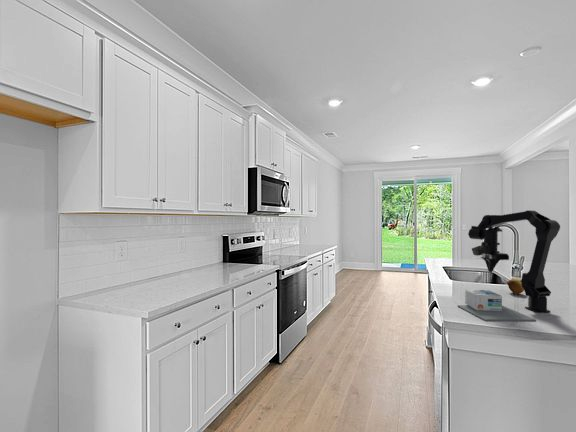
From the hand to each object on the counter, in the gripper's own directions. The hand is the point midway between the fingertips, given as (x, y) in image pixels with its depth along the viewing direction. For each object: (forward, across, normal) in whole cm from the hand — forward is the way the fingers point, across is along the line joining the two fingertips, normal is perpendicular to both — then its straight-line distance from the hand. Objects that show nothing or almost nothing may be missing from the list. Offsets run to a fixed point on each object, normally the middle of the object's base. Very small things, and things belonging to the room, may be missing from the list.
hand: (490, 272), depth 163 cm
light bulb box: (+9, +13, -14) cm, 21 cm away
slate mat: (+13, +24, -14) cm, 31 cm away
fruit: (+13, -10, +20) cm, 26 cm away
